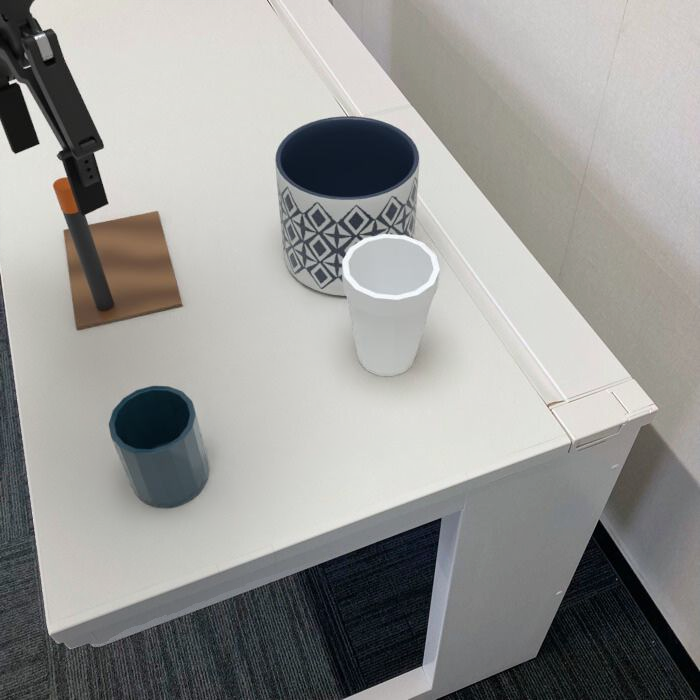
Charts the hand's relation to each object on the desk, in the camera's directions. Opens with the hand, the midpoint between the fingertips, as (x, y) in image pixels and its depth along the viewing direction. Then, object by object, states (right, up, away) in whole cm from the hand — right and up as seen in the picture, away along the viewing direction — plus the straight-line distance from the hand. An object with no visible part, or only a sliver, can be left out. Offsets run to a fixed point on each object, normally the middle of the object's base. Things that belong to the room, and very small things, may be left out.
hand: (58, 176), depth 75 cm
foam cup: (+32, -17, +9) cm, 38 cm away
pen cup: (+11, -29, -1) cm, 31 cm away
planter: (+28, -5, +20) cm, 35 cm away
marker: (0, -12, +14) cm, 18 cm away
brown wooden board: (0, -7, +19) cm, 20 cm away
